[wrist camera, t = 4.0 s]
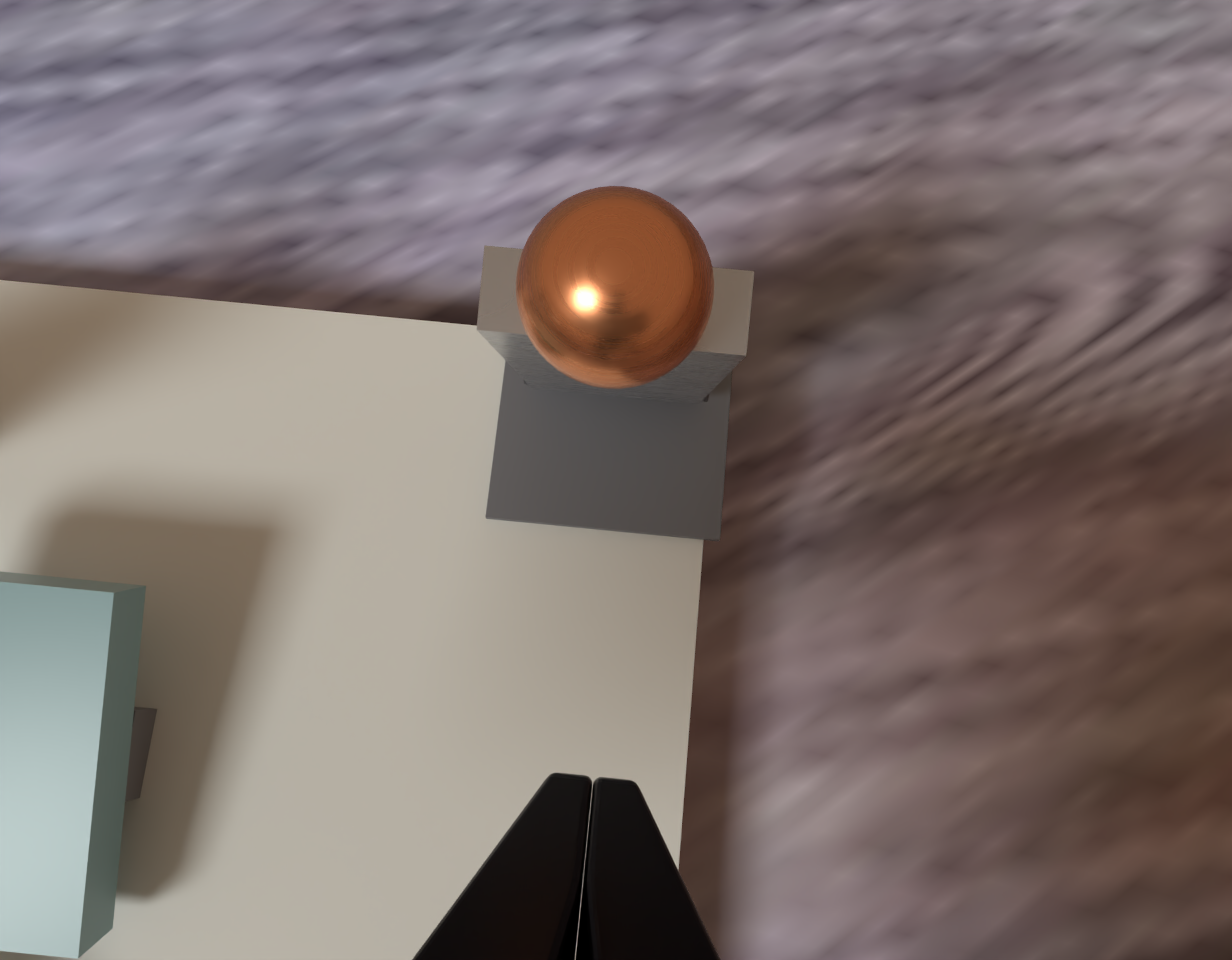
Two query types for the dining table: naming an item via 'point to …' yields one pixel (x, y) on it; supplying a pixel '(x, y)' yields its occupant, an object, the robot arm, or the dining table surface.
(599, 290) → the grey block with ball
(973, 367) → the dining table surface
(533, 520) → the panel
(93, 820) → the pale teal flat block
